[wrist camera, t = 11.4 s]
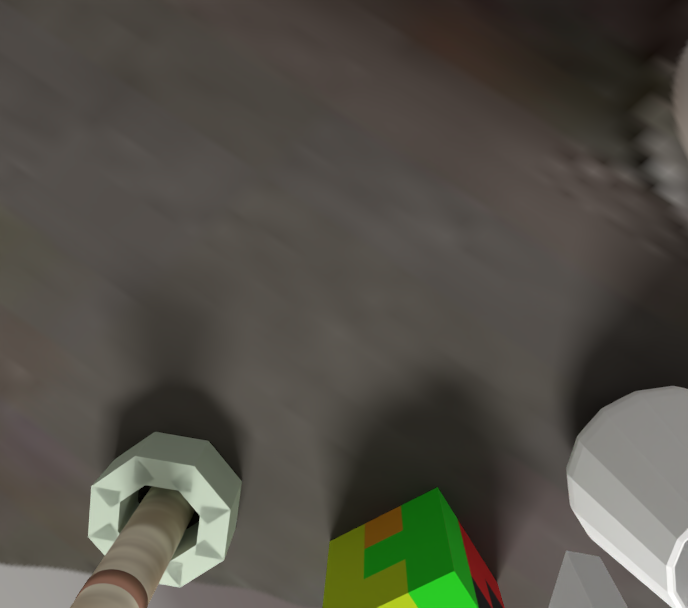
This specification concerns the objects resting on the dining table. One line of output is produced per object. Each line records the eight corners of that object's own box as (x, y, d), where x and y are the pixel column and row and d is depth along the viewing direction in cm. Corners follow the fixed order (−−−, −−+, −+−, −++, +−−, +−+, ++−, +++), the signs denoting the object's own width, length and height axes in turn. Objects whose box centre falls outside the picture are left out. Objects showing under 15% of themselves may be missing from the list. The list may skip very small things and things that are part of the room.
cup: (577, 547, 48) (657, 700, 35) (527, 401, 45) (593, 504, 32) (747, 497, 47) (901, 637, 33) (706, 342, 44) (856, 424, 30)
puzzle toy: (391, 631, 51) (395, 742, 41) (329, 540, 49) (319, 635, 39) (496, 582, 49) (527, 685, 40) (437, 486, 48) (454, 570, 38)
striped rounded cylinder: (152, 469, 48) (65, 591, 35) (202, 477, 48) (135, 603, 35) (147, 513, 49) (62, 649, 36) (197, 522, 49) (130, 661, 36)
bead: (116, 425, 47) (93, 448, 44) (246, 447, 47) (235, 473, 44) (108, 539, 50) (85, 571, 46) (231, 560, 50) (219, 594, 46)
